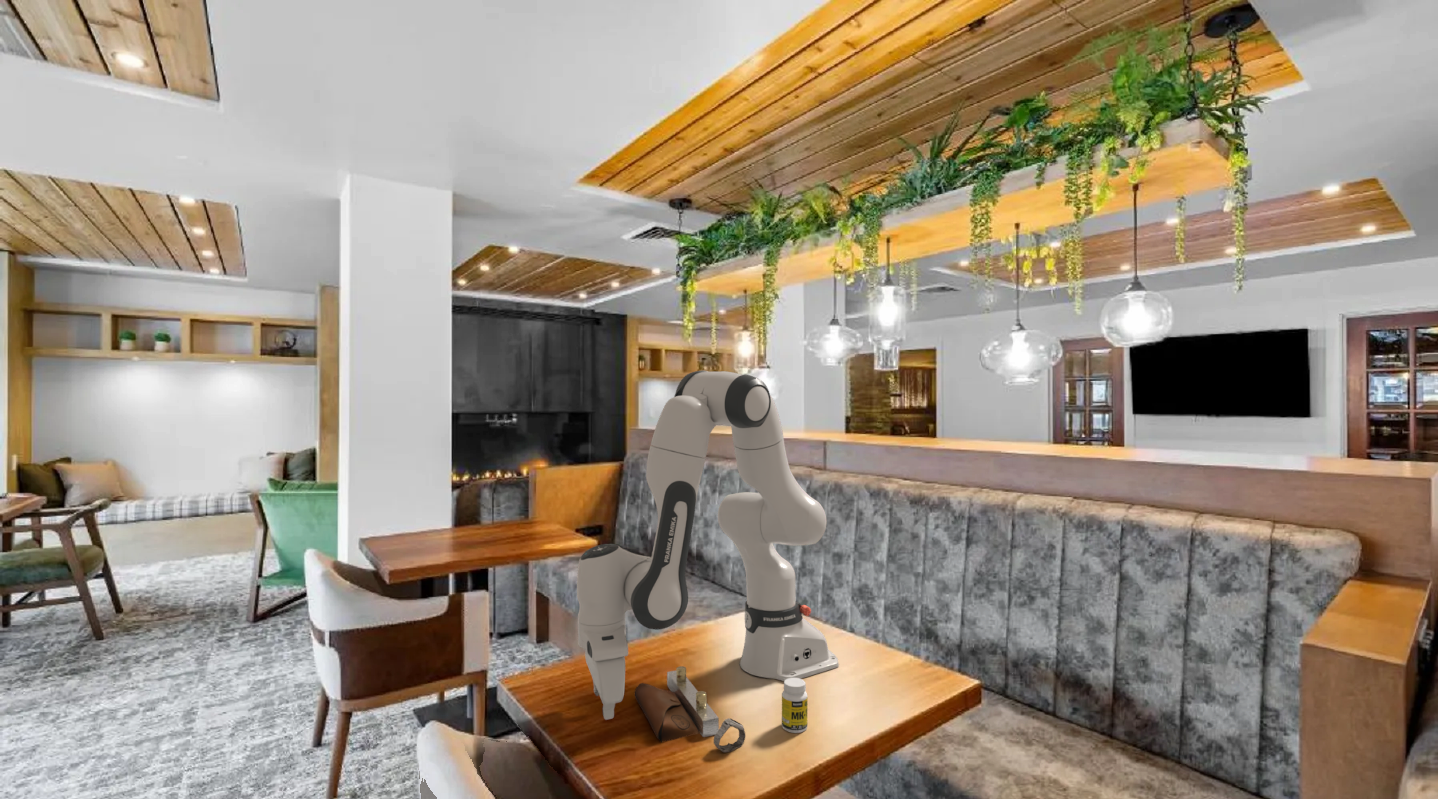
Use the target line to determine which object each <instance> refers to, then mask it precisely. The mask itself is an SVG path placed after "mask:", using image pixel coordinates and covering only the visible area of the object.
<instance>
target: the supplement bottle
mask: <svg viewBox="0 0 1438 799" xmlns="http://www.w3.org/2000/svg"><path fill="white" fill-rule="evenodd" d="M806 690H807V688H806V681H805V680H804V679H803V678H801V679H799V678H788V679H786V680H785V681H783V691H782V692H781V727H782V729H783V730H785V732H789V733H791V734H799V733H803V732H805V731H806V730H807V729H808V710H809V709H808V701H809V700H808V697H809V696H808V693H807V691H806Z"/></svg>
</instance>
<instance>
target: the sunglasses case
mask: <svg viewBox="0 0 1438 799" xmlns="http://www.w3.org/2000/svg"><path fill="white" fill-rule="evenodd" d="M634 698H635V700H636V702H637V704H638V705H639V707H640V708H641V710H642V712H643V714H644V716H645V718H646V720H647V721H648V723H649V725H650V726H651V729H652V730H653V733H654V735H655V737H656V738H657V740H659V742H661V743H664V742H667V741H673V740H677V739H682V738H686V737H687V738H688V737H690V736H693V735H698V734H700V732H699V731H698V729H697V727H696V726H695V724H694V723H693V721H692V719H691V718H690V716H689V715H688V713H687V712H686V710H685V709H684V707H683V706H682V704H681V703H680V701H679V699H678V698H677V696H676V694H675V693H674V692H672V691H670V690H667V689H663V688H659V687H656V686H654V685H651V684H648V683H644V682H642V683H639V684H638V685H637V686H636V688H635V689H634Z"/></svg>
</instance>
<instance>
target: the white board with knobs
mask: <svg viewBox="0 0 1438 799" xmlns="http://www.w3.org/2000/svg"><path fill="white" fill-rule="evenodd" d="M675 669H676V670H671V671H667V673H666V681H667V682H666V686H667V688H668V689H669V691H672V692H674V693H675V694H676V696H677V698H678V699H679V701H680V703H681V704H682V706H683V707H684V709H685V710H686V712H687V713H688V715H689V716H690V718H691V719H692V721H693V723H694V724H695V726H696V727H697V729H698V731H699V734H700V735H701V737H703V738H706V737H712V736H715V734H716V733H717V732H718V730H719V728H720V726H719V725H720V724H719V723H720V722H719V718H720V717H719V716H718V715H717V713H715V711H714V710H713V709H712V707H711V706H710V704H708V703H707V702H708V701H707V695H708V694H707V692H706V691H704V690H700V691H698V689H697V688H696V687H695V685H694V684H692V682H691V680H690V679H689V678H688V677H687V667H686V666H682V665H681V666H678V667H676V668H675Z"/></svg>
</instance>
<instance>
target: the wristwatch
mask: <svg viewBox="0 0 1438 799" xmlns="http://www.w3.org/2000/svg"><path fill="white" fill-rule="evenodd" d="M730 728H735V729H737V730H738V737H737V739H736V741H734V742H732V743H729V742H728V743H727V744H724V745H720V744H721V739H722V738H723V737H724V735H725V734H726V733H727V731H728V730H729V729H730ZM745 741H746V731H745V727H744V725H743V724H741V723H740V722H739V721H737V720H734V719H732V718H730V717H728V718H726V719H724V720H723V722H722V723H721V725H720V726H719V730H718V732H717V733H716V734H715V735H713V745H714V746H715V747H716V749H717V750H719V751H720V752H722V753H731V752H733V751H735V750H737V749H739V748H741V747H742V746H743V745H744V743H745Z"/></svg>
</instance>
